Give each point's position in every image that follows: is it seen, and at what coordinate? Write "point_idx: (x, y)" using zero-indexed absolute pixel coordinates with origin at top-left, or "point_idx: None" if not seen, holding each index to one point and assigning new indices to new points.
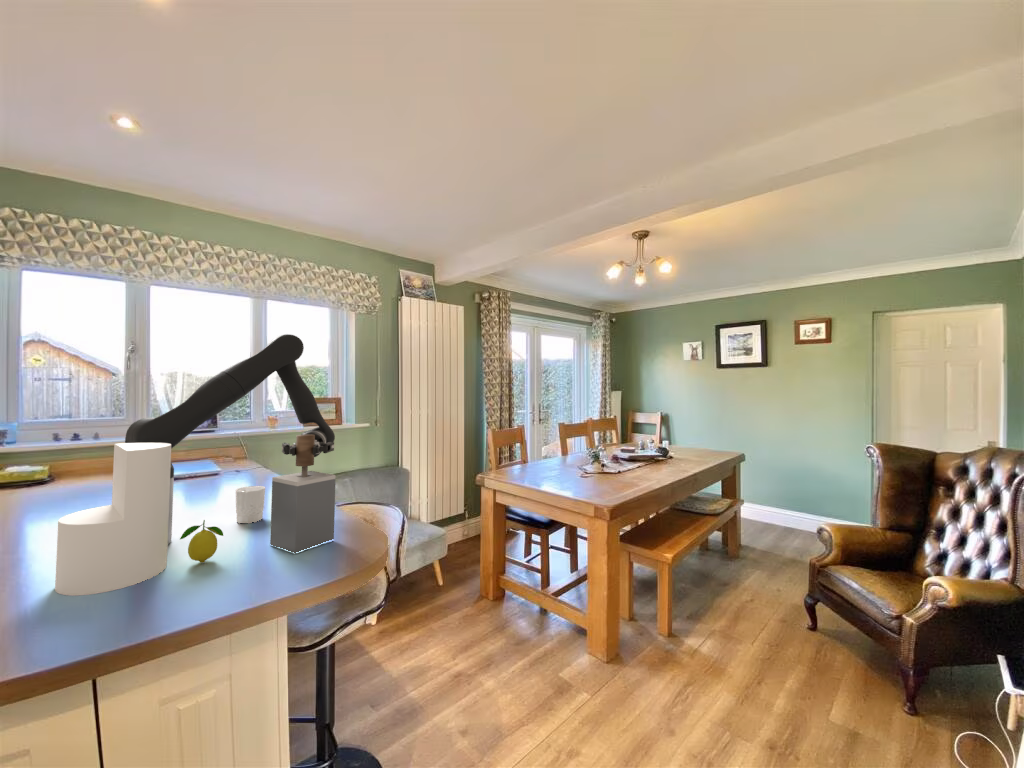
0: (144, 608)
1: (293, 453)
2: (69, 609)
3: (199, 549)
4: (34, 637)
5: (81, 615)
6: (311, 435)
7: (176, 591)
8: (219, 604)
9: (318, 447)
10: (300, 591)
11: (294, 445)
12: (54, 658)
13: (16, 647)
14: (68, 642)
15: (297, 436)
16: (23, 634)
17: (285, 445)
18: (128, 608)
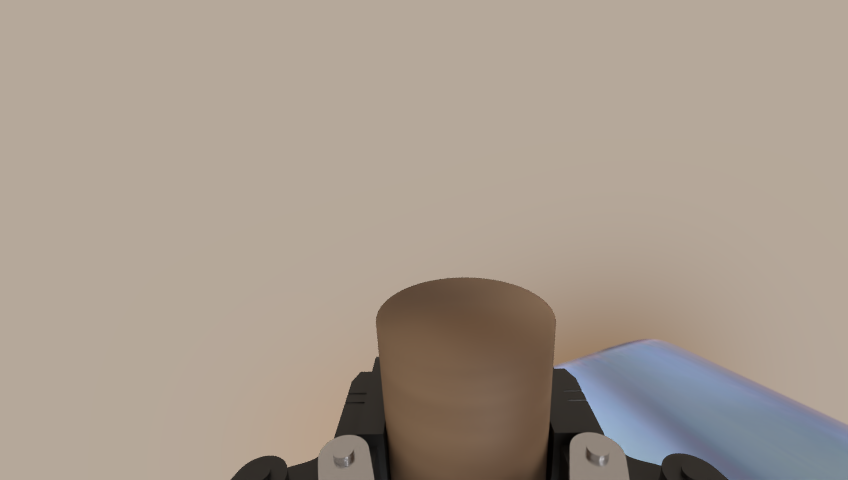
0: (662, 423)
1: None
2: (813, 450)
3: None
4: (741, 388)
5: (754, 426)
6: (406, 298)
7: None
8: None
9: (353, 401)
10: None
11: (583, 435)
12: (652, 352)
13: (732, 375)
14: (674, 371)
15: (526, 294)
16: (772, 397)
17: (697, 460)
18: (693, 429)
